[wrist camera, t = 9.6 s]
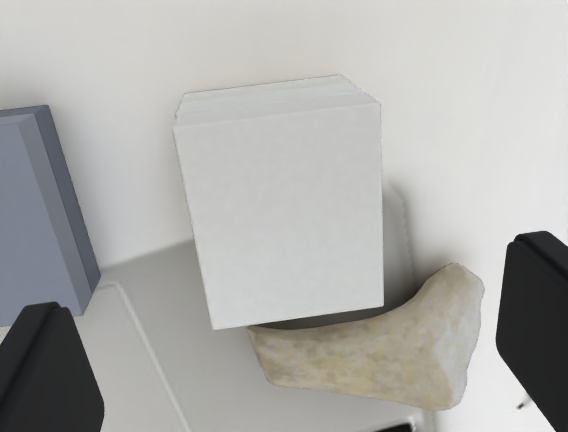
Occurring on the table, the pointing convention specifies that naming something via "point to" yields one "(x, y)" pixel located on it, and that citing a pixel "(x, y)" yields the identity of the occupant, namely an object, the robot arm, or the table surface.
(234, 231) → the white book
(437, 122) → the table surface
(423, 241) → the table surface
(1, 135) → the grey-blue block
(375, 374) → the stone
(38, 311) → the robot arm
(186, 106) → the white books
